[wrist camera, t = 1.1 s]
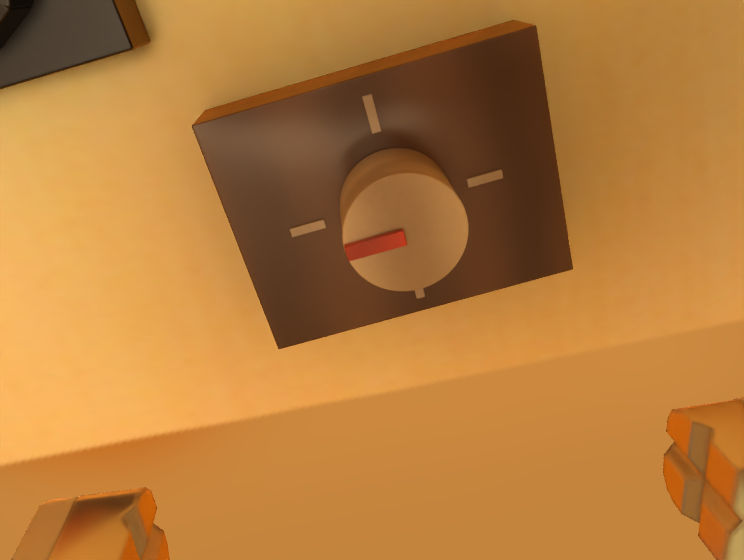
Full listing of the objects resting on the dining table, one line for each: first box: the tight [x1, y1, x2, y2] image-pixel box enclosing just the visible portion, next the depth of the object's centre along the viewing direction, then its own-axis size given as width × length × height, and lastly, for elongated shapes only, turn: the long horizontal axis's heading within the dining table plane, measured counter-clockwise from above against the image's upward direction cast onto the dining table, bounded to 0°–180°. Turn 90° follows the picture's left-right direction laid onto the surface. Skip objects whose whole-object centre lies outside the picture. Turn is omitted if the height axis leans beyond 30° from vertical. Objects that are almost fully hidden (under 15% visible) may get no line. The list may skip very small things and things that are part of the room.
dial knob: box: [340, 148, 468, 291], centre depth 24 cm, size 4×4×4 cm
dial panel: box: [192, 20, 573, 349], centre depth 27 cm, size 13×10×3 cm
